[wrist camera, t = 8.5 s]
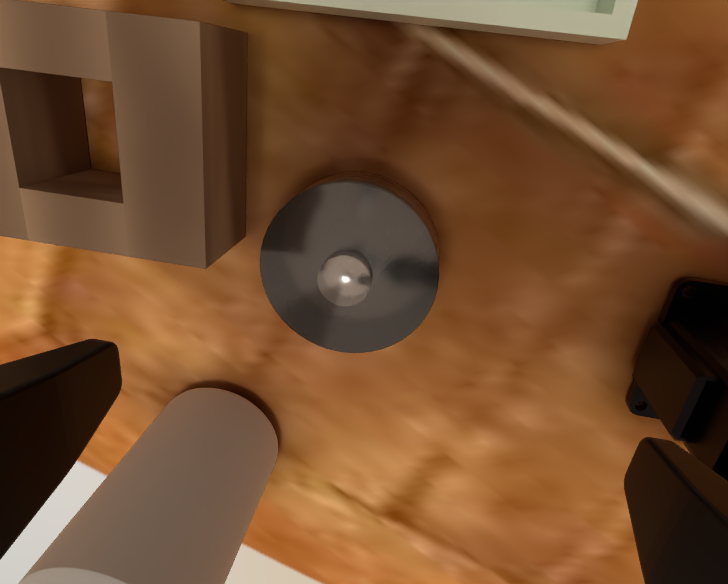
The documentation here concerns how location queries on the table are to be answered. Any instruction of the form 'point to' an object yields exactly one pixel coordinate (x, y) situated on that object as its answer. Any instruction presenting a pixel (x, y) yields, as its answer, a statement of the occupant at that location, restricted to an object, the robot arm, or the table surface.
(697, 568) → the robot arm
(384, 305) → the dark grey knobbed lid
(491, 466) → the table surface
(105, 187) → the block
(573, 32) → the tray
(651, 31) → the table surface
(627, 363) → the table surface
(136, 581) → the beverage can
